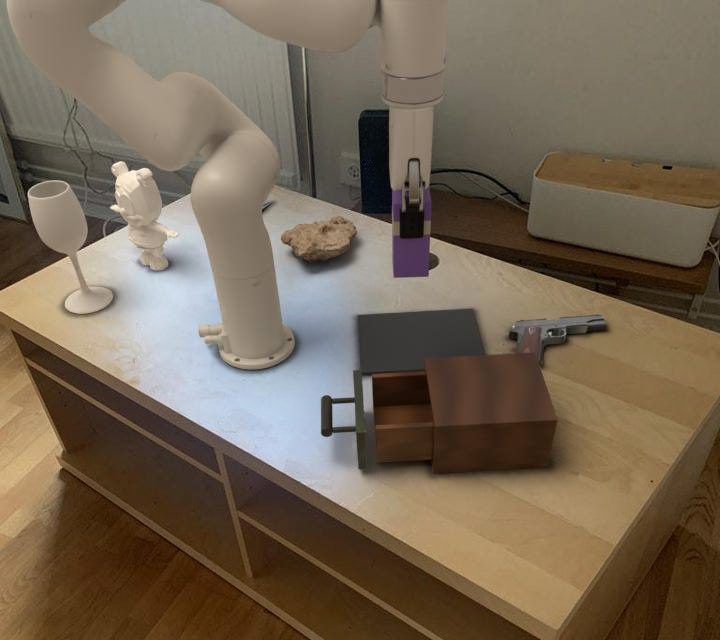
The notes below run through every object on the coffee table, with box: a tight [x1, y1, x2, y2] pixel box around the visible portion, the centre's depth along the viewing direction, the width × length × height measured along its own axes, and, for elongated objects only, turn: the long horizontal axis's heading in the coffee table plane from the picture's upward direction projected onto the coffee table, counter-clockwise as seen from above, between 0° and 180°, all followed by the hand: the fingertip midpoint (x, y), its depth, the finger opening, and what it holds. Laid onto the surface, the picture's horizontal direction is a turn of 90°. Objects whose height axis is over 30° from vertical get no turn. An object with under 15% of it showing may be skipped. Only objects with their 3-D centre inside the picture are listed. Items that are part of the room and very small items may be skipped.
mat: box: [357, 308, 485, 376], centre depth 120 cm, size 20×16×1 cm
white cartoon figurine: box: [109, 160, 180, 271], centre depth 133 cm, size 8×20×19 cm, turn 49°
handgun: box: [507, 314, 607, 365], centre depth 117 cm, size 17×11×2 cm, turn 95°
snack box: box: [391, 186, 432, 279], centre depth 100 cm, size 5×4×11 cm
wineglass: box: [27, 179, 114, 315], centre depth 125 cm, size 9×9×21 cm
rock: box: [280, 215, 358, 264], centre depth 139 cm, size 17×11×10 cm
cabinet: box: [424, 352, 559, 474], centre depth 101 cm, size 16×14×9 cm
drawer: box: [320, 369, 434, 470], centre depth 101 cm, size 19×13×7 cm
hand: (410, 226), depth 99 cm, fingers closed on snack box, 4 cm apart
